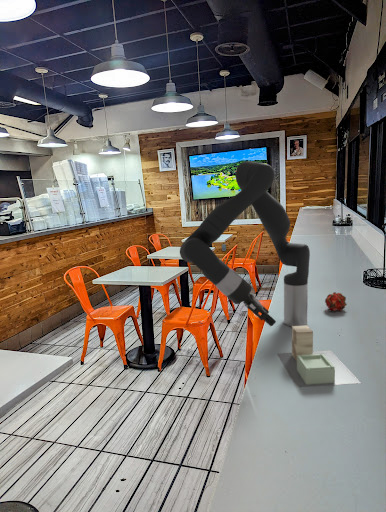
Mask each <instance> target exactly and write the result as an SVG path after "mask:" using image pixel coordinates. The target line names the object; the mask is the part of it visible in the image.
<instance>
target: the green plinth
mask: <svg viewBox="0 0 386 512" xmlns="http://www.w3.org/2000/svg"><path fill="white" fill-rule="evenodd" d="M334 368H335V367H334V366H333V364H332V363H331V362H330V361H329V360H328V359H327V357H326V356H325V355H324V354H321V355H320V354H310V355H301V356H300V355H297V371H298V372H299V374H300V376H301V377H302V379H303V380H304V382H305V383H306V385H307V384H322V383H335V369H334Z"/></svg>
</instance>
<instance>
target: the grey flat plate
mask: <svg viewBox="0 0 386 512" xmlns="http://www.w3.org/2000/svg"><path fill="white" fill-rule="evenodd" d="M313 354H320V355H321V354H324V355H325V356H326V357H327V359H328V360H329V361H330V362H331V363H332V364H333V366H334V367H335V368H334V369H335V383H322V384H307V385H306V383H305V382H304V380H303V379H302V377H301V376H300V374H299V372H298V371H297V362H296V360H295V359H294V357H293V356H292V352H282V353H281V352H280V353H278V352H277V355H278V358H279V360H280V361H281V363H282V365H283V366H284V367H285V371H287V373H288V375H289V377H290V378H291V380H292V382H293V383H294V386H296V388H308V387H321V386H324V387H325V386H337V385H338V386H340V385H355V384H356V385H357V384H362V382H361V381H360V380H359V379H358V378H357V377H356V375H354V374H353V372H352V371H350V370H349V368H348V367H347V366H346V365H345V364H344V363H343V362H342V361H341V360H340V359H339V358H338V356H337V355H336V354H335V353H334V352H333V351H332V350H330V349H328V350H314V351H313Z"/></svg>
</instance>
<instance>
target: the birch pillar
mask: <svg viewBox="0 0 386 512" xmlns="http://www.w3.org/2000/svg"><path fill="white" fill-rule="evenodd" d="M313 349H314V331H313V330H312V329H311V327H309V325H308V324H307V325H304V326H291V353H292V356H293V357H294V359H295V360H296V362H297V355H300V356H301V355H310V354H313Z"/></svg>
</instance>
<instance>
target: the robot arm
mask: <svg viewBox="0 0 386 512" xmlns="http://www.w3.org/2000/svg"><path fill="white" fill-rule="evenodd" d="M235 180H236V184H237V185H238V188H239V190H240V191H239V192H238V193H237V194H235V195H233V196H232V197H230V198H229V199H227V200H225V201H224V202H222V203H220V204H219V205H217V206H216V207H215V208H213V210H211V212H210V213H208V215H207V216H206V217H205V218H204V219H203V220H202V222H201V223H200V225H199V226H198V227H197V228H196V229H195V230H194V231H193V232H192V233H191V234H190V236H188V237H187V238H186V239H185V240H184V241H183V243H182V244H181V246H180V247H179V248H180V249H179V255H180V258H181V259H182V260H183V261H184V262H186V263H192V264H193V265H195V266H196V267H197V268H198V269H199V270H200V271H201V272H202V274H203V276H204V277H205V278H206V279H207V280H208V281H209V282H211V283H212V284H213V285H214V286H215V287H216V288H217V289H218V290H219V291H220V293H222V294H223V295H224V296H225V297H226V298H228V299H229V300H230V301H231V302H232V303H233V304H235V305H239V304H240V303H243V304H244V306H245V308H247V309H248V310H249V311H250V312H251V313H252V314H254V315H255V316H256V317H257V318H258V319H259V320H260V321H264V322H265V323H266V324H267V325H268V326H270V327H272V326H274V325H275V324H276V323H277V322H276V320H275V318H273V317H272V316H271V315H270V314H269V313H270V312H269V310H268V309H267V308H266V307H265V306H264V305H263V304H262V303H261V302H260V300H259V299H258V298H257V297H256V296H255V294H253V293H251V291H252V285H251V284H250V283H249V282H247V280H245V279H244V278H243V277H242V276H241V275H239V273H237V272H236V271H235V270H234V269H232V268H230V267H229V266H228V265H227V264H226V263H225V262H223V260H221V259H220V258H219V257H218V256H217V254H216V253H215V252H214V251H213V249H212V248H211V247H210V246H211V245H212V244H213V243H214V242H216V241H217V240H218V239H219V238H220V237H221V236H222V235H223V234H224V233H225V232H226V230H227V229H228V228H229V226H230V225H231V224H232V223H233V222H234V221H235V220H236V219H237V218H238V216H240V215H241V214H242V213H243V212H244V211H246V210H247V209H248V208H249V207H250V206H252V208H253V209H254V212H255V213H256V215H257V216H258V218H259V220H260V222H261V225H262V226H263V229H265V231H266V233H267V235H268V236H269V238H270V239H271V242H272V244H273V247H274V249H275V251H276V255H277V257H278V259H279V261H280V263H281V264H282V265H284V266H286V267H287V266H288V267H296V271H294V272H291V273H287V274H285V275H284V276H283V323H284V324H285V325H286V326H288V327H292V326H304V325H307V326H308V297H309V296H308V295H309V294H308V292H309V291H308V289H309V287H308V286H309V285H308V283H309V282H308V279H309V273H310V271H309V270H310V269H309V268H310V259H311V258H310V256H311V255H310V254H311V253H310V248H309V246H308V245H307V243H306V244H305V243H294V242H289V241H288V240H287V235H288V233H289V230H290V227H291V221H290V217H289V215H288V213H287V211H286V209H285V207H284V206H283V205H282V204H281V203H280V202H279V201H278V200H277V199H276V198H275V197H273V196H272V195H271V194H270V193H269V192H268V191H269V189H270V188H271V187H272V185H273V183H274V180H275V171H274V168H273V167H272V166H271V165H270V164H268V163H264V162H258V161H242V162H241V163H239V164H238V166H237V167H236V169H235Z"/></svg>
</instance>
